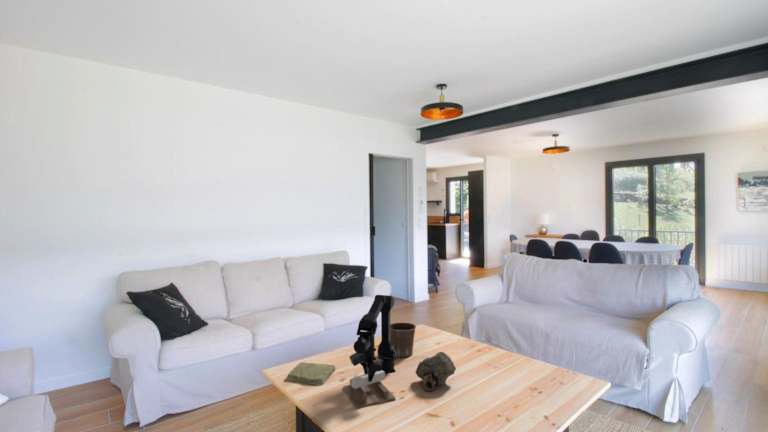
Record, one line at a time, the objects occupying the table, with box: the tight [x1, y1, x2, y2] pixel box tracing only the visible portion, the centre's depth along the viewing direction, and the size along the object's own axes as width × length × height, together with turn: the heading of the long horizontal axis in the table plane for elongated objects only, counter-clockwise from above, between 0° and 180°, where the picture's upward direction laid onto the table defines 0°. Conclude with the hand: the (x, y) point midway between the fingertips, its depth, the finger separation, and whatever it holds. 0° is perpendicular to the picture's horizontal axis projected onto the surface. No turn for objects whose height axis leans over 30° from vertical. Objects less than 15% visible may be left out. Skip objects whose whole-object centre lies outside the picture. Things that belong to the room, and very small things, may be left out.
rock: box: [415, 351, 457, 392], centre depth 185 cm, size 18×14×15 cm
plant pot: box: [390, 322, 417, 358], centre depth 225 cm, size 16×16×16 cm
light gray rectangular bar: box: [351, 370, 386, 389], centre depth 177 cm, size 16×3×4 cm, turn 125°
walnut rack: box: [342, 379, 397, 409], centre depth 177 cm, size 18×20×4 cm
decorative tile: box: [286, 361, 336, 386], centre depth 197 cm, size 19×20×4 cm
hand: (368, 379), depth 177 cm, fingers closed on light gray rectangular bar, 4 cm apart
